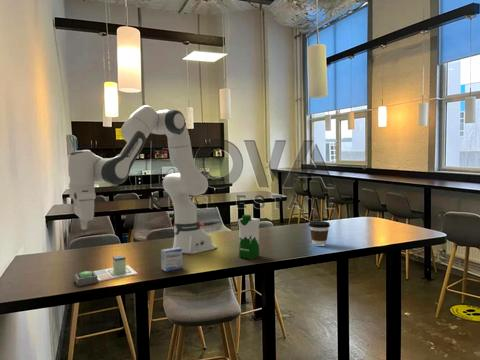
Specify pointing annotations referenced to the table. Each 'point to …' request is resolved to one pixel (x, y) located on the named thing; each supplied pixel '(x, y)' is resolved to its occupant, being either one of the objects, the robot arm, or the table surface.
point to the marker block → (119, 264)
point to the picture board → (114, 274)
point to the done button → (85, 274)
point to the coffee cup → (319, 232)
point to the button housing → (86, 279)
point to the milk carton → (248, 237)
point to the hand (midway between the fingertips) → (84, 228)
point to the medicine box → (171, 259)
